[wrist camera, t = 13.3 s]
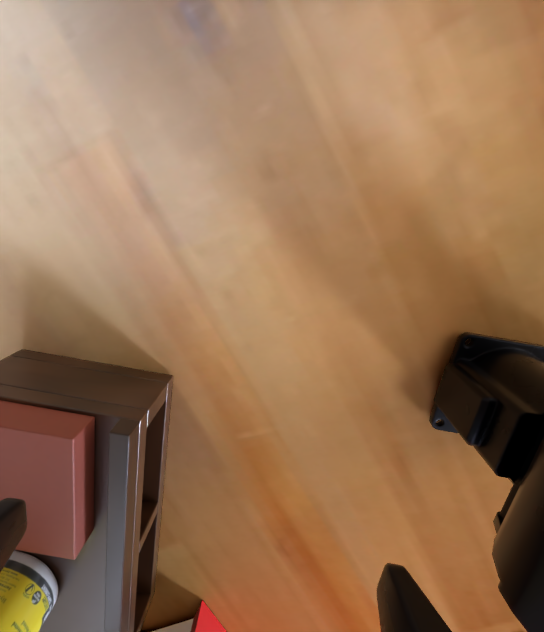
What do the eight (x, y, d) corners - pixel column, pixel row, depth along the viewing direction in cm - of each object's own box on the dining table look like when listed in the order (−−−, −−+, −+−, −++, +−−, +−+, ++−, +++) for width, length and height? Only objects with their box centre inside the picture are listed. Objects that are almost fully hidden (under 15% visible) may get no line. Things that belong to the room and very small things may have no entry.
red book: (95, 416, 17) (73, 438, 15) (94, 529, 19) (74, 560, 17) (-30, 394, 17) (-67, 414, 15) (-17, 510, 19) (-47, 539, 17)
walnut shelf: (173, 375, 21) (129, 435, 15) (154, 590, 27) (117, 694, 21) (22, 349, 21) (-81, 399, 15) (35, 569, 27) (-35, 668, 21)
